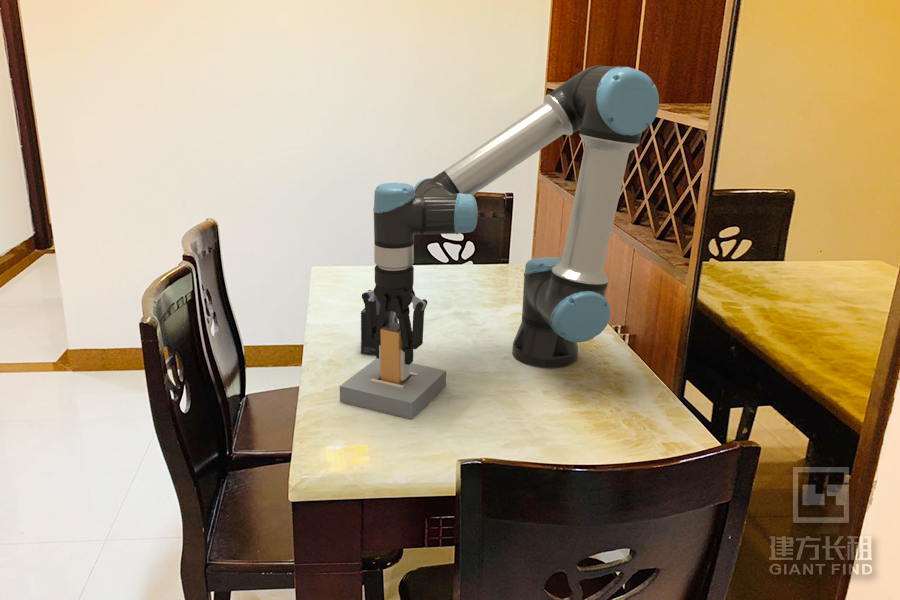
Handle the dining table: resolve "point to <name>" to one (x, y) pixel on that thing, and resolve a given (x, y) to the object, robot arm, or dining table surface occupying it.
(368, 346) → the small box
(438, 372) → the socket
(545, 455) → the dining table surface
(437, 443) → the dining table surface
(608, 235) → the robot arm
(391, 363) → the plug
